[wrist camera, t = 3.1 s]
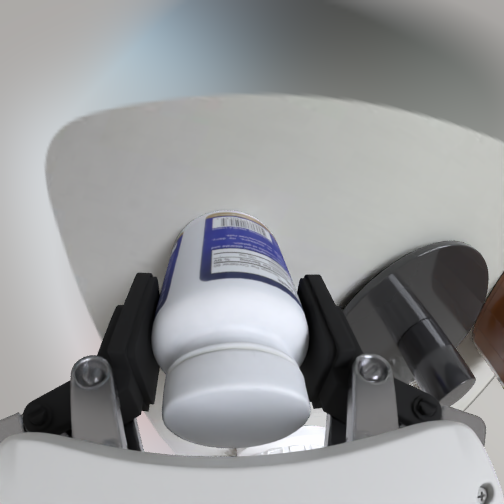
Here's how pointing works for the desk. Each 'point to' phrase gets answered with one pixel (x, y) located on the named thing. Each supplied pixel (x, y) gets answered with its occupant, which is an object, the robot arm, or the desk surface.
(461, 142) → the desk surface
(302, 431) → the decorative container
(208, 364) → the pill bottle
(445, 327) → the lid
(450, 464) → the robot arm
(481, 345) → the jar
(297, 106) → the desk surface
